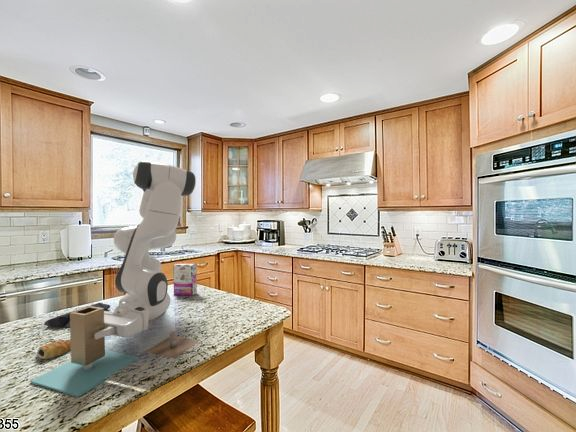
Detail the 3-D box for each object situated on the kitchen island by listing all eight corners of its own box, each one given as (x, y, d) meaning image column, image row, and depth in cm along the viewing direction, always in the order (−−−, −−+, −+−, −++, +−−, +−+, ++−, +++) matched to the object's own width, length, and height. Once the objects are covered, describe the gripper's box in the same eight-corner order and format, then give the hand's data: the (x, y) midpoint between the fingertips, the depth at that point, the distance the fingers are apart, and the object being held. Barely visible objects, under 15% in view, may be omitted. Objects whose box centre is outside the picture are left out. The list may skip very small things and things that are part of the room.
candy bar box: (197, 293, 150) (196, 263, 150) (192, 296, 145) (192, 265, 145) (178, 292, 152) (178, 262, 151) (173, 295, 147) (172, 264, 147)
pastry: (69, 344, 94) (69, 333, 94) (80, 348, 91) (80, 337, 91) (34, 357, 86) (34, 345, 86) (45, 362, 83) (45, 350, 83)
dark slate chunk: (116, 310, 126) (116, 300, 126) (67, 330, 105) (66, 318, 105) (90, 307, 130) (90, 297, 130) (38, 326, 109) (37, 314, 109)
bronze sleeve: (71, 362, 76) (69, 313, 76) (91, 352, 82) (89, 306, 81) (85, 366, 75) (84, 315, 74) (105, 355, 80) (103, 308, 80)
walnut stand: (144, 353, 87) (144, 336, 87) (171, 337, 98) (171, 321, 98) (175, 360, 83) (175, 342, 83) (199, 341, 95) (199, 325, 95)
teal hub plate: (30, 383, 73) (29, 365, 72) (96, 349, 90) (96, 335, 90) (77, 397, 67) (77, 378, 67) (139, 359, 84) (138, 343, 84)
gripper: (104, 303, 93) (59, 319, 80) (151, 310, 87) (111, 328, 74) (104, 322, 94) (60, 340, 81) (151, 329, 87) (111, 351, 74)
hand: (84, 334), depth 77 cm, fingers closed on bronze sleeve, 6 cm apart
